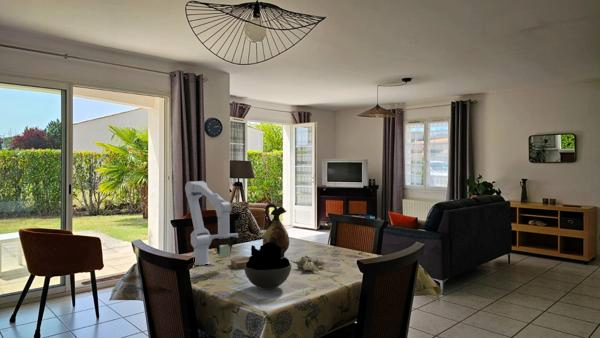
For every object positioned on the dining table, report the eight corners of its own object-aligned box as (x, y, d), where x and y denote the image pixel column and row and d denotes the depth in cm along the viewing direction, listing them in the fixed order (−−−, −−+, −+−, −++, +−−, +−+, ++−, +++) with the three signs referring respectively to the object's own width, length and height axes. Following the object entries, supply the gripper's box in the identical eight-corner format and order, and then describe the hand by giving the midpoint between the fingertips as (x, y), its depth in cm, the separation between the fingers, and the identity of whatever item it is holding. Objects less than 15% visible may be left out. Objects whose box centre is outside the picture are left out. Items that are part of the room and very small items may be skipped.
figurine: (325, 254, 211) (335, 262, 195) (324, 266, 211) (334, 275, 195) (287, 254, 207) (294, 262, 191) (287, 266, 207) (294, 275, 191)
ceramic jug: (291, 252, 240) (290, 202, 239) (287, 258, 224) (287, 205, 224) (262, 252, 241) (262, 202, 241) (257, 258, 226) (257, 204, 226)
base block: (230, 264, 213) (230, 258, 213) (250, 262, 217) (250, 256, 217) (236, 269, 203) (236, 263, 203) (257, 266, 208) (257, 260, 208)
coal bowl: (291, 280, 181) (291, 239, 181) (291, 295, 161) (291, 248, 161) (246, 281, 181) (246, 239, 181) (241, 296, 161) (241, 249, 161)
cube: (217, 255, 203) (217, 245, 203) (227, 254, 205) (227, 244, 205) (220, 257, 198) (220, 247, 198) (230, 256, 201) (230, 246, 201)
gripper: (211, 227, 195) (211, 255, 195) (240, 225, 201) (240, 252, 201) (207, 225, 201) (208, 253, 202) (236, 223, 208) (236, 250, 208)
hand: (223, 252), depth 202 cm, fingers closed on cube, 5 cm apart
